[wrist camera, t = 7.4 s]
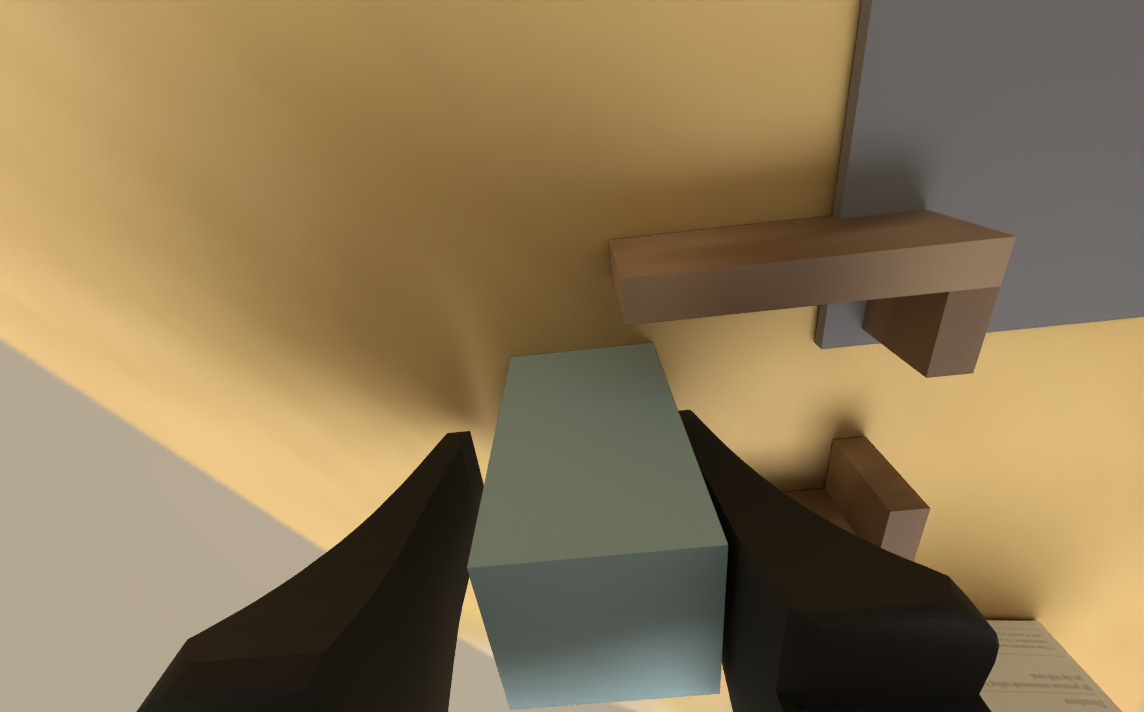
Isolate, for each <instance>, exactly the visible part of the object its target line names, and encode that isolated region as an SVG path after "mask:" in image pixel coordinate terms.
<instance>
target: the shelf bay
mask: <svg viewBox="0 0 1144 712" xmlns="http://www.w3.org/2000/svg"><path fill="white" fill-rule="evenodd" d="M1015 239H1016V236H1013V235H1010V234H1007V233H1003V232H1000V231H997V230H993V229H990V228H987V227H983V226H980V225H977V224H973V223H970V222H966V221H963V220H960V219H956V218H953V217H950V216H946V215H943V214H940V213H936V212H933V211H929V210H917V211H907V212H898V213H889V214H880V215H871V216H862V217H853V218H844V219H839V218H837V217H835V216H832V215H831V216H822V217H813V218H804V219H795V220H786V221H777V222H768V223H759V224H749V225H740V226H731V227H722V228H713V229H704V230H695V231H686V232H677V233H668V234H659V235H650V236H640V237H631V238H622V239H613V240H609V248H610V262H611V275H612V281H613V285H614V289H615V292H616V296H617V300H618V303H619V307H620V311H621V314H622V318H623V322H624V325H632V324H642V323H651V322H661V321H671V320H680V319H690V318H700V317H709V316H719V315H729V314H738V313H748V312H758V311H767V310H777V309H786V308H796V307H806V306H815V305H825V304H835V303H844V302H854V301H864V300H867V303H866V308H865V314H864V319H863V325H862V329H863V330H864V331H866V332H867V333H868V334H869V335H871V336H872V337H873V338H875V339H876V340H877V341H879V342H880V343H881V344H883V345H884V346H885V347H887V348H888V349H889V350H890V351H892V352H893V353H894V354H896V355H897V356H898V357H900V358H901V359H902V360H904V361H905V362H906V363H908V364H909V365H910V366H911V367H913V368H914V369H915V370H917V371H918V372H919V373H921V374H922V375H923V376H925V377H926V378H929V377H939V376H949V375H959V374H970V373H973V372H974V369H975V365H976V362H977V359H978V356H979V353H980V350H981V346H982V343H983V340H984V337H985V334H986V331H987V328H988V324H989V321H990V318H991V315H992V312H993V309H994V305H995V302H996V299H997V296H998V293H999V290H1000V287H1001V283H1002V280H1003V277H1004V274H1005V271H1006V268H1007V264H1008V261H1009V258H1010V255H1011V252H1012V249H1013V246H1014V242H1015ZM783 493H785V494H786V495H788V496H789V497H791V498H792V499H794V500H795V501H797V502H798V503H800V504H801V505H803V506H804V507H806V508H808V509H809V510H811V511H813V512H814V513H816V514H818V515H820V516H821V517H823V518H825V519H826V520H828V521H830V522H832V523H833V524H835V525H837V526H839V527H841V528H842V529H844V530H846V531H848V532H850V533H852V534H854V535H856V536H858V537H860V538H862V539H864V540H866V541H868V542H870V543H872V544H874V545H877V546H879V547H881V548H883V549H885V550H887V551H889V552H891V553H894V554H896V555H898V556H901V557H903V558H906V559H908V560H911V561H914V558H915V555H916V551H917V548H918V545H919V542H920V539H921V536H922V532H923V529H924V526H925V523H926V520H927V517H928V514H929V510H930V507H929V506H928V505H927V504H926V503H925V502H924V501H923V500H922V499H921V497H920V496H919V495H918V494H917V493H916V492H915V491H914V490H913V489H912V487H911V486H910V485H909V484H908V483H907V482H906V481H905V480H904V479H903V477H902V476H901V475H900V474H899V473H898V472H897V471H896V470H895V469H894V468H893V466H892V465H891V464H890V463H889V462H888V461H887V460H886V459H885V458H884V456H883V455H882V454H881V453H880V452H879V451H878V450H877V449H876V448H875V446H874V445H873V444H872V443H871V442H870V441H869V440H868V439H867V438H866V437H858V438H847V439H836V440H833V443H832V449H831V455H830V460H829V466H828V472H827V477H826V483H825V488H822V489H811V490H800V491H789V492H783Z"/></svg>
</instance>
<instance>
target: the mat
mask: <svg viewBox="0 0 1144 712" xmlns="http://www.w3.org/2000/svg"><path fill="white" fill-rule="evenodd" d="M917 210H929V211H933V212H936V213H940V214H943V215H946V216H950V217H953V218H956V219H960V220H963V221H966V222H970V223H973V224H977V225H980V226H983V227H987V228H990V229H993V230H997V231H1000V232H1003V233H1007V234H1010V235H1013V236H1016V239H1015V242H1014V246H1013V249H1012V252H1011V255H1010V258H1009V261H1008V264H1007V268H1006V271H1005V274H1004V277H1003V280H1002V283H1001V287H1000V290H999V293H998V296H997V299H996V302H995V305H994V309H993V312H992V315H991V318H990V321H989V324H988V328H987V331H986V333H987V332H997V331H1007V330H1017V329H1027V328H1037V327H1047V326H1056V325H1066V324H1076V323H1086V322H1096V321H1106V320H1116V319H1126V318H1136V317H1144V0H862V3H861V11H860V18H859V25H858V32H857V40H856V47H855V54H854V61H853V68H852V76H851V83H850V90H849V97H848V105H847V112H846V119H845V126H844V133H843V141H842V148H841V155H840V162H839V170H838V177H837V184H836V191H835V198H834V206H833V213H832V216H835V217H837V218H839V219H844V218H853V217H862V216H871V215H880V214H889V213H898V212H907V211H917ZM866 303H867V300H864V301H854V302H844V303H835V304H825V305H820V307H819V314H818V321H817V328H816V336H815V344H816V345H817V346H819V347H820V348H821V349H827V348H837V347H847V346H857V345H867V344H877V343H880V342H879V341H877V340H876V339H875V338H873V337H872V336H871V335H869V334H868V333H867V332H866V331H864V330H863V329H862V325H863V319H864V314H865V308H866Z"/></svg>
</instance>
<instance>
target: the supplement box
mask: <svg viewBox="0 0 1144 712" xmlns="http://www.w3.org/2000/svg"><path fill="white" fill-rule="evenodd" d="M986 621H987V622H988V623H989V624H990V626H991V627H992V628H993V629H994V630H995V632H996V633H997V636H998V641H999V645H1000V646H999V650H998V654H997V658H996V661H995V664H994V666H993V668H992V670H991V672H990V674H989V676H988V678H987V680H986V682H985V684H984V686H983V688H982V690H981V692H980V694H979V695H980V696H981V697H982V699H983V700H984V702H985V703H986V704H987V706H988V707H989V709H990V710H991V712H1122V711H1121V710H1120V709H1119V708H1118V707H1117V706H1116V705H1115V704H1114V703H1113V701H1112V700H1111V699H1110V698H1109V697H1108V696H1107V695H1106V694H1105V693H1104V692H1103V690H1102V689H1101V688H1100V687H1099V686H1098V685H1097V684H1096V683H1095V682H1094V681H1093V680H1092V678H1091V677H1090V676H1089V675H1088V674H1087V673H1086V672H1085V671H1084V670H1083V669H1082V668H1081V667H1080V666H1079V665H1078V663H1077V662H1076V661H1075V660H1074V659H1073V658H1072V657H1071V656H1070V655H1069V654H1068V653H1067V651H1066V650H1065V649H1064V648H1063V647H1062V646H1061V645H1060V644H1059V643H1058V642H1057V641H1056V640H1055V639H1054V637H1053V636H1052V635H1051V634H1050V633H1049V632H1048V631H1047V630H1046V629H1045V628H1044V627H1043V625H1042V624H1041V623H1040V622H1038V621H1008V620H986Z"/></svg>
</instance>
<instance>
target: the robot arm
mask: <svg viewBox="0 0 1144 712" xmlns="http://www.w3.org/2000/svg"><path fill="white" fill-rule="evenodd" d="M678 412H679V414H680V417H681V420H682V422H683V425H684V428H685V430H686V433H687V436H688V438H689V441H690V444H691V447H692V449H693V452H694V455H695V457H696V460H697V463H698V465H699V468H700V471H701V473H702V476H703V479H704V481H705V484H706V487H707V489H708V492H709V495H710V498H711V500H712V503H713V506H714V508H715V511H716V514H717V516H718V519H719V522H720V524H721V527H722V530H723V532H724V535H725V538H726V540H727V543H728V557H727V574H726V592H725V610H724V627H723V645H722V665H723V670H724V674H725V678H726V683H727V687H728V691H729V696H730V700H731V705H732V709H733V712H991V710H990V709H989V707H988V706H987V704H986V703H985V702H984V700H983V699H982V697H981V696H980V695H979V694H980V692H981V690H982V688H983V686H984V684H985V682H986V680H987V678H988V676H989V674H990V672H991V670H992V668H993V666H994V664H995V661H996V658H997V654H998V650H999V646H1000V645H999V641H998V636H997V633H996V632H995V630H994V629H993V628H992V627H991V626H990V624H989V623H988V622H987V621H986V619H985V618H984V617H983V616H982V614H981V613H980V612H979V610H978V609H977V608H976V607H975V605H974V604H973V603H972V602H971V600H970V599H969V598H968V597H967V596H966V595H965V594H964V593H963V591H962V590H961V589H960V588H959V587H958V586H957V585H956V584H955V583H954V582H953V581H952V580H951V578H950V577H949V576H947V575H945V574H942V573H940V572H937V571H935V570H933V569H930V568H928V567H925V566H923V565H920V564H918V563H915V562H913V561H911V560H908V559H906V558H903V557H901V556H898V555H896V554H894V553H891V552H889V551H887V550H885V549H883V548H881V547H879V546H877V545H874V544H872V543H870V542H868V541H866V540H864V539H862V538H860V537H858V536H856V535H854V534H852V533H850V532H848V531H846V530H844V529H842V528H841V527H839V526H837V525H835V524H833V523H832V522H830V521H828V520H826V519H825V518H823V517H821V516H820V515H818V514H816V513H814V512H813V511H811V510H809V509H808V508H806V507H804V506H803V505H801V504H800V503H798V502H797V501H795V500H794V499H792V498H791V497H789V496H788V495H786V494H785V493H783V492H782V491H780V490H779V489H778V488H776V487H775V486H773V485H772V484H771V483H769V482H768V481H767V480H765V479H764V478H763V477H762V476H761V475H759V474H758V473H757V472H756V471H754V470H753V469H752V468H751V467H750V466H748V465H747V464H746V463H745V462H744V461H742V460H741V459H740V458H739V457H738V456H737V455H736V454H735V453H734V452H733V451H731V450H730V449H729V448H728V447H727V446H726V445H725V444H724V443H723V442H722V441H721V440H720V439H719V438H718V437H717V436H716V435H715V434H714V433H713V432H712V431H711V430H710V429H709V428H708V427H707V426H706V425H705V424H704V423H703V422H702V421H701V420H700V419H699V418H698V417H697V416H696V415H695V414H694V413H693V412H692V411H691V410H682V411H678ZM483 488H484V484H483V481H482V477H481V473H480V469H479V465H478V461H477V457H476V453H475V449H474V445H473V441H472V437H471V433H470V431H465V432H455V433H447V434H446V435H445V436H444V437H443V439H442V440H441V441H440V442H439V443H438V444H437V445H436V447H435V448H434V449H433V450H432V451H431V452H430V453H429V455H428V456H427V457H426V458H425V459H424V460H423V462H422V463H421V464H420V465H419V466H418V467H417V468H416V469H415V471H414V472H413V473H412V474H411V475H410V476H409V477H408V478H407V479H406V480H405V482H404V483H403V484H402V485H401V486H400V487H399V488H398V489H397V490H396V491H395V492H394V493H393V494H392V495H391V496H390V497H389V498H388V499H387V500H386V501H385V502H384V503H383V504H382V505H381V506H380V507H379V508H378V509H377V510H376V511H375V512H374V513H373V514H372V515H371V516H370V517H369V518H367V519H366V520H365V521H364V522H363V523H362V524H361V525H360V526H359V527H357V528H356V529H355V530H354V531H353V532H351V533H350V534H349V535H348V536H347V537H346V538H344V539H343V540H342V541H341V542H339V543H338V544H337V545H336V546H334V547H333V548H332V549H330V550H329V551H328V552H326V553H325V554H324V555H322V556H321V557H320V558H318V559H317V560H316V561H314V562H313V563H312V564H310V565H309V566H308V567H306V568H305V569H304V570H302V571H301V572H299V573H298V574H297V575H295V576H294V577H292V578H291V579H289V580H288V581H286V582H285V583H283V584H282V585H280V586H279V587H277V588H276V589H274V590H272V591H271V592H269V593H268V594H266V595H265V596H263V597H261V598H260V599H258V600H257V601H255V602H253V603H252V604H250V605H248V606H247V607H245V608H243V609H242V610H240V611H238V612H236V613H235V614H233V615H231V616H229V617H227V618H226V619H224V620H222V621H220V622H219V623H217V624H215V625H213V626H211V627H210V628H208V629H206V630H204V631H202V632H201V633H199V634H197V635H195V636H193V637H191V638H189V639H188V640H187V641H186V642H185V644H184V645H183V646H182V648H181V649H180V651H179V652H178V653H177V655H176V657H175V658H174V659H173V661H172V662H171V663H170V665H169V666H168V668H167V669H166V671H165V672H164V673H163V675H162V677H161V678H160V679H159V681H158V682H157V683H156V685H155V686H154V688H153V689H152V691H151V692H150V693H149V695H148V696H147V698H146V699H145V701H144V702H143V703H142V705H141V706H140V708H139V709H138V710H137V712H448V706H449V698H450V688H451V681H452V672H453V663H454V656H455V649H456V642H457V634H458V627H459V621H460V616H461V611H462V605H463V601H464V597H465V593H466V589H467V584H468V580H469V573H468V570H467V565H468V561H469V556H470V551H471V546H472V541H473V536H474V532H475V527H476V522H477V517H478V512H479V508H480V503H481V498H482V493H483Z"/></svg>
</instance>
